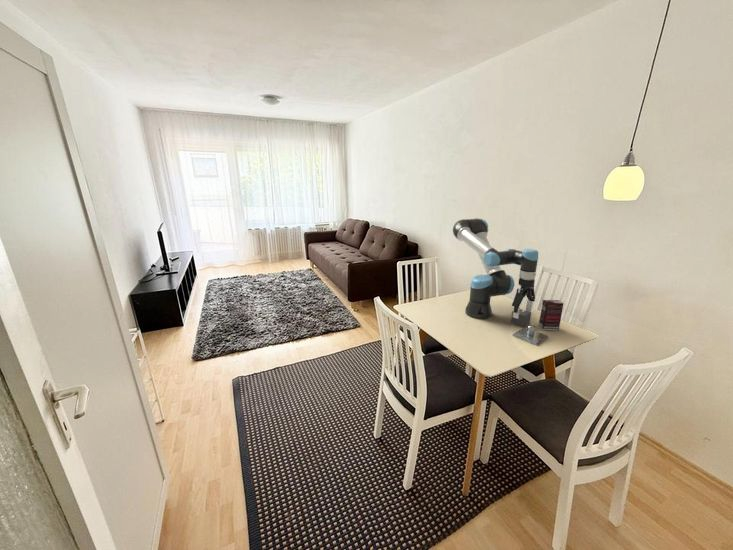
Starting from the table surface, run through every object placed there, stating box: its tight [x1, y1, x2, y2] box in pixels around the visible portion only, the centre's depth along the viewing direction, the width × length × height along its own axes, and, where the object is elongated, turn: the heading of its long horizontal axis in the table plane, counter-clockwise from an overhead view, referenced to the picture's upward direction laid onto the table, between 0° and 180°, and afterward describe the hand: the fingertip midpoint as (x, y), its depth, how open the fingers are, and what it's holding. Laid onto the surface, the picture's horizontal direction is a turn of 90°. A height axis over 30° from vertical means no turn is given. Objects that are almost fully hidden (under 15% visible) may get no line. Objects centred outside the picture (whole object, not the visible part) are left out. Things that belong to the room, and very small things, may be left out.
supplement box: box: [538, 299, 564, 331], centre depth 158 cm, size 9×5×16 cm, turn 84°
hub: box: [512, 324, 549, 346], centre depth 151 cm, size 12×12×6 cm
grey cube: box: [510, 308, 532, 328], centre depth 165 cm, size 7×7×7 cm
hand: (522, 314), depth 164 cm, fingers open, 13 cm apart
